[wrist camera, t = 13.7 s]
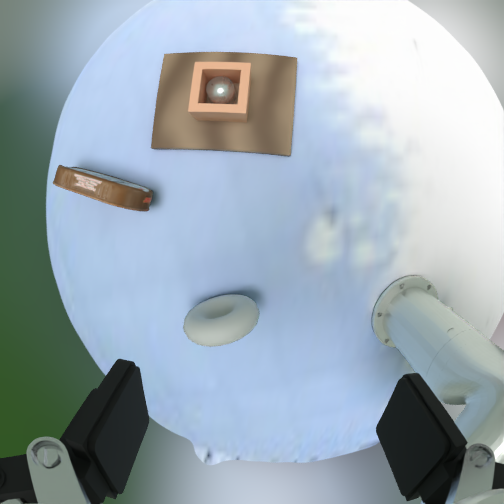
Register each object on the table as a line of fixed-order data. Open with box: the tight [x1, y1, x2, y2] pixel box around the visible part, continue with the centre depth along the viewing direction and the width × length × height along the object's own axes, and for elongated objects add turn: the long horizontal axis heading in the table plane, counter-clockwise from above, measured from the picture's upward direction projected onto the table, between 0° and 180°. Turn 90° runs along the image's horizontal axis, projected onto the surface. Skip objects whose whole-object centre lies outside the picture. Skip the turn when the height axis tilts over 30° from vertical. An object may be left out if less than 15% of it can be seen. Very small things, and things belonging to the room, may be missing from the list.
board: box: [151, 52, 297, 156], centre depth 33 cm, size 18×14×2 cm
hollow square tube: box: [188, 62, 251, 123], centre depth 30 cm, size 6×6×5 cm
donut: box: [183, 294, 259, 347], centre depth 36 cm, size 10×4×10 cm, turn 104°
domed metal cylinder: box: [206, 76, 236, 104], centre depth 30 cm, size 3×3×4 cm
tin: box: [53, 165, 153, 211], centre depth 32 cm, size 15×3×8 cm, turn 71°
